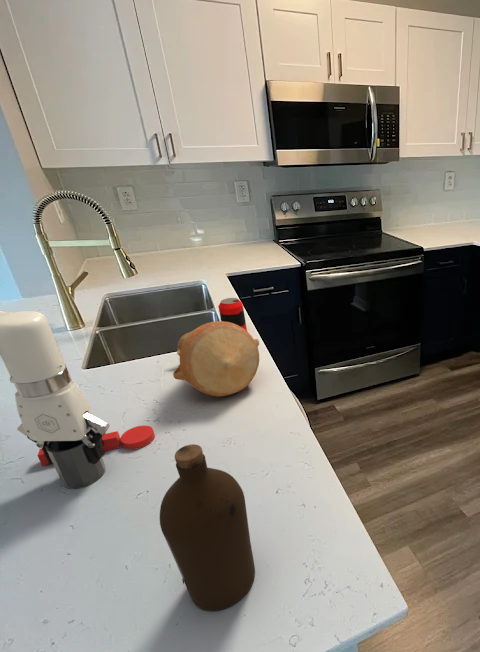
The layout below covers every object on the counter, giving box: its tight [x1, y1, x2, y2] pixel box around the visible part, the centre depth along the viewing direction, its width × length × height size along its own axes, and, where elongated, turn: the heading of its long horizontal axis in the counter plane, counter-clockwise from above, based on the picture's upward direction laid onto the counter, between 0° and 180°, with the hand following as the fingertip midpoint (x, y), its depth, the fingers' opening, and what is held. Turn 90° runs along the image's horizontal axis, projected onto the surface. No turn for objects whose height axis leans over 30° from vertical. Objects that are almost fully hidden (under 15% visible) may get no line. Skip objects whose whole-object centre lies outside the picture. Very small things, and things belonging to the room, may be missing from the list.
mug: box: [45, 427, 107, 490], centre depth 83 cm, size 11×7×9 cm, turn 0°
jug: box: [172, 320, 260, 397], centre depth 112 cm, size 20×19×30 cm
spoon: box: [36, 424, 156, 467], centre depth 89 cm, size 21×6×3 cm, turn 114°
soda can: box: [218, 297, 248, 332], centre depth 139 cm, size 8×8×12 cm
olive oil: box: [159, 443, 256, 612], centre depth 58 cm, size 11×11×25 cm
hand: (77, 458), depth 81 cm, fingers closed on mug, 7 cm apart
